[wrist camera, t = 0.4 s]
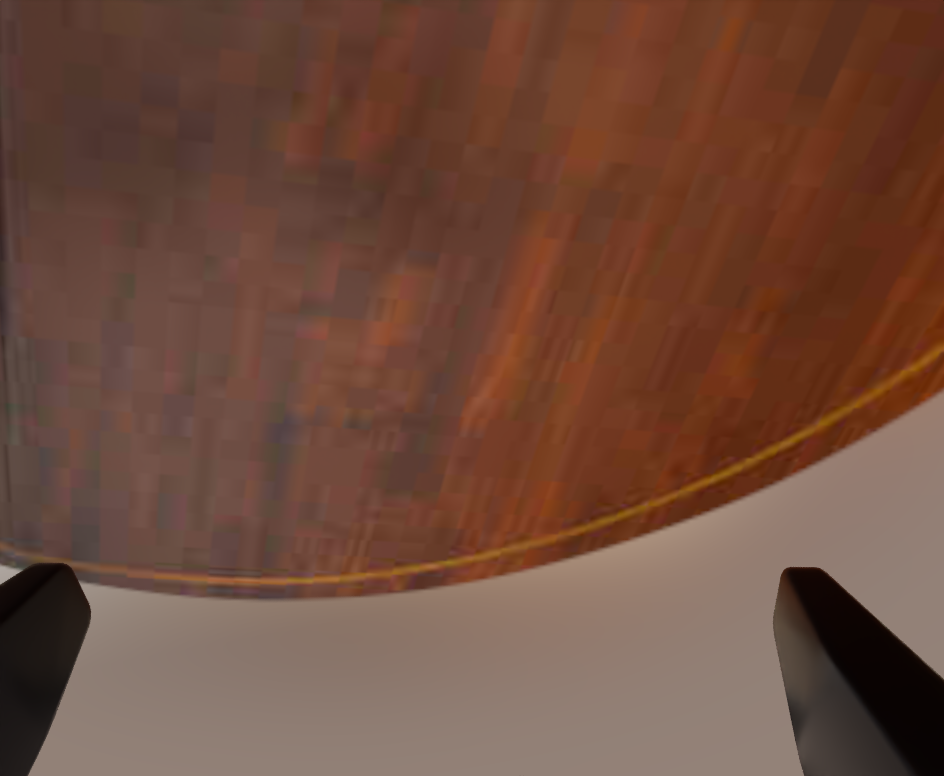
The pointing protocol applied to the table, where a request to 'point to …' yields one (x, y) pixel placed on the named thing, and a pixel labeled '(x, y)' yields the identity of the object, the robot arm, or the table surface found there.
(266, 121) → the table surface
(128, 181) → the table surface
